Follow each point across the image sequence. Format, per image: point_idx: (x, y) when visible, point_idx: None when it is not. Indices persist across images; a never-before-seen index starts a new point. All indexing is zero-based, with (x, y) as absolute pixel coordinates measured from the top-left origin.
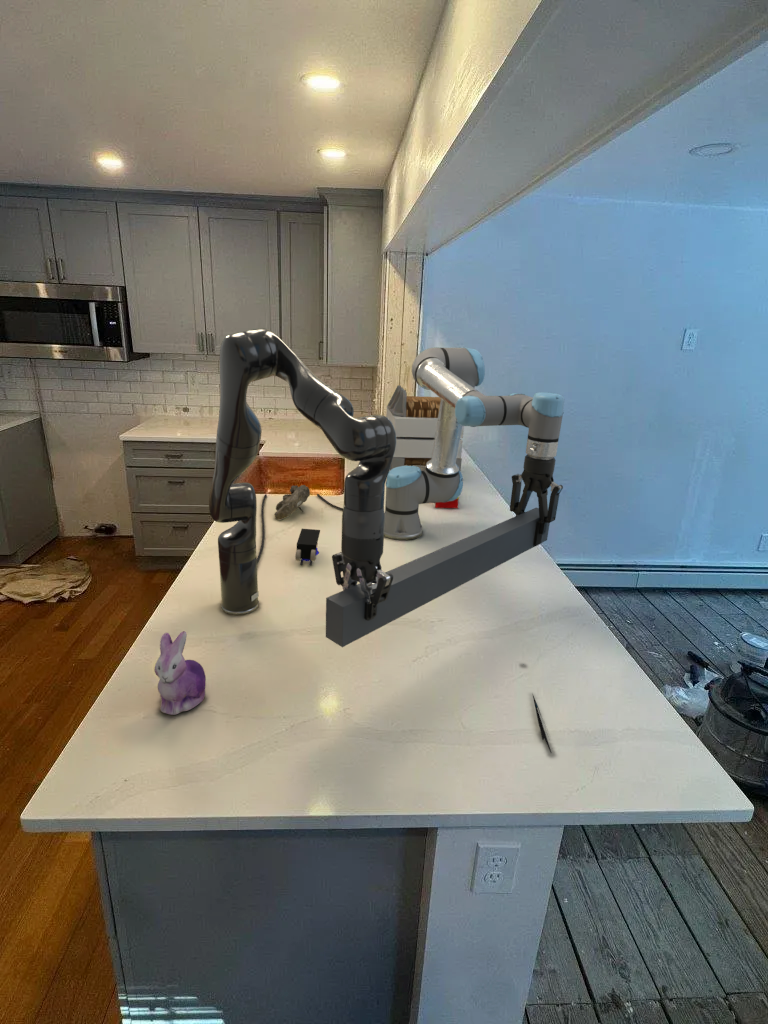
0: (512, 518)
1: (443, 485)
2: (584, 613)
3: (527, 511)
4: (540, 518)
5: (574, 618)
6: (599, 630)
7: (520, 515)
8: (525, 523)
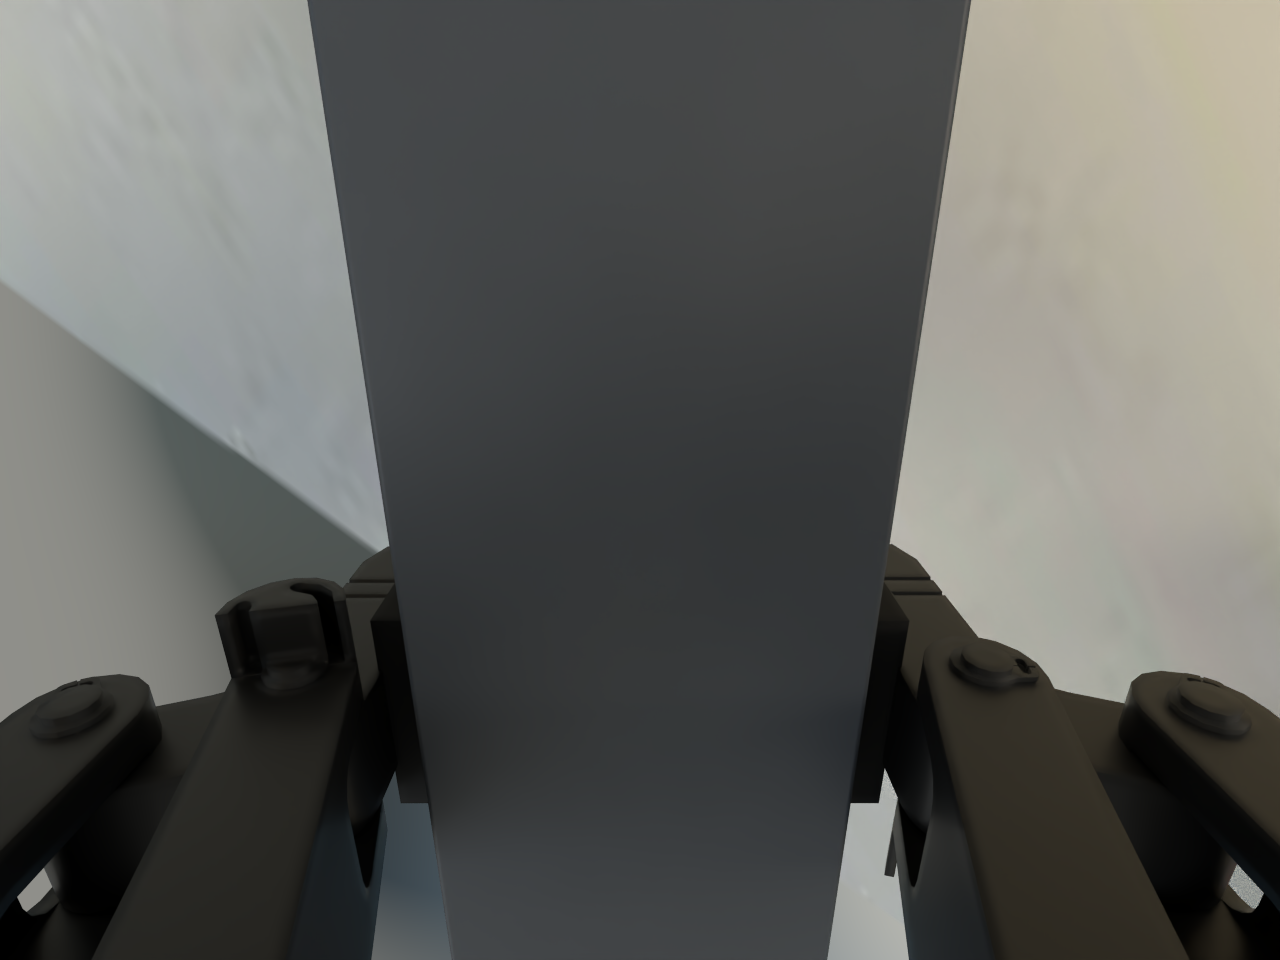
0: (910, 90)
1: None
2: (328, 499)
3: (828, 883)
4: (317, 709)
5: (326, 410)
6: (167, 392)
7: (831, 548)
8: (326, 7)
